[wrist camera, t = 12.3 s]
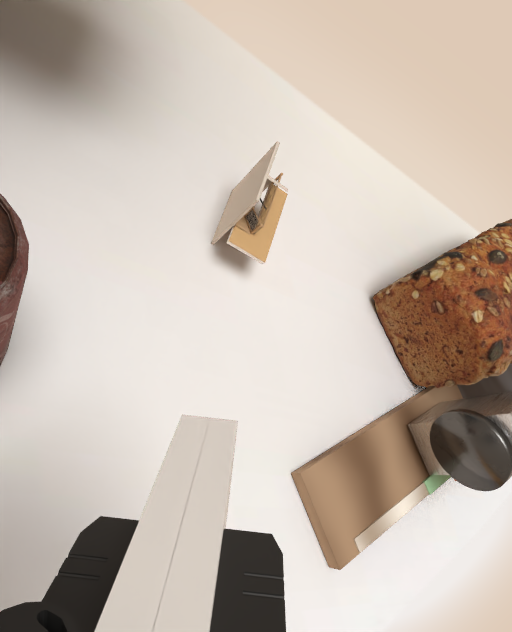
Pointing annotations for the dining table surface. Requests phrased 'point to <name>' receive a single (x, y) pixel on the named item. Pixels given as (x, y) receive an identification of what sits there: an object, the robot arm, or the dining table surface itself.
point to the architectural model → (244, 202)
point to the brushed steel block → (468, 440)
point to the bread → (454, 313)
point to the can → (10, 270)
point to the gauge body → (376, 474)
